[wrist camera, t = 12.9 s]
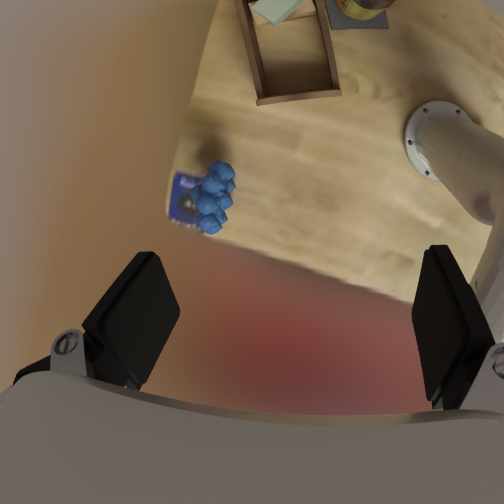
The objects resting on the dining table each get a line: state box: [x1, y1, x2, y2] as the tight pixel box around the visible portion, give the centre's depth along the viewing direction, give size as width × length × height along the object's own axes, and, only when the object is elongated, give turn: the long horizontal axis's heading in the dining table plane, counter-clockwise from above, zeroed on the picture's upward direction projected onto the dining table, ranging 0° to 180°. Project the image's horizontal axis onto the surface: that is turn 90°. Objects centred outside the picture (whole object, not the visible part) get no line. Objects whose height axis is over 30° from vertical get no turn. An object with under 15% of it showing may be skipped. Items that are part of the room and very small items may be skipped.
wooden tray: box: [235, 0, 342, 106], centre depth 31 cm, size 11×17×6 cm, turn 12°
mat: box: [325, 0, 389, 30], centre depth 28 cm, size 8×8×1 cm
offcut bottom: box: [248, 0, 316, 28], centre depth 29 cm, size 8×4×4 cm, turn 108°
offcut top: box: [251, 0, 305, 27], centre depth 27 cm, size 6×4×3 cm, turn 139°
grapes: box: [189, 160, 236, 234], centre depth 43 cm, size 12×7×12 cm, turn 171°
